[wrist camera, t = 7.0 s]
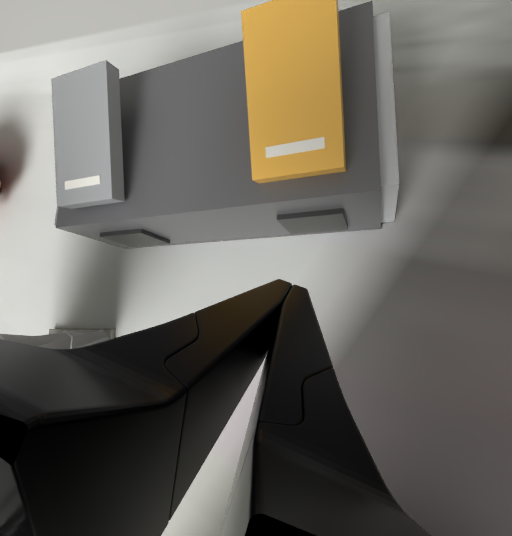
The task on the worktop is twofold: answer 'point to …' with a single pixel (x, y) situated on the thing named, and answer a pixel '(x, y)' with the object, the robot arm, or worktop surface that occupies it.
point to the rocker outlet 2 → (294, 89)
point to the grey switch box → (245, 153)
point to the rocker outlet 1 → (88, 137)
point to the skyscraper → (64, 338)
